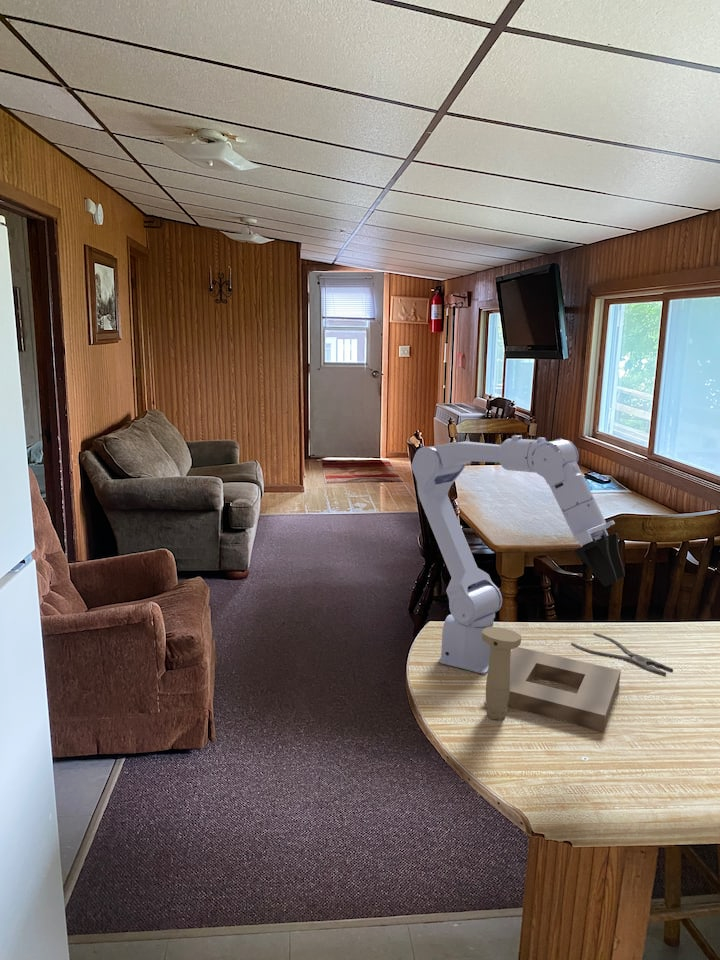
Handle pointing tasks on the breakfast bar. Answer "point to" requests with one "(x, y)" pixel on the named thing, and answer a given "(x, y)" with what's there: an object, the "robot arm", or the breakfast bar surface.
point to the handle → (499, 669)
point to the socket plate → (559, 704)
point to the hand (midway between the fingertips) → (615, 581)
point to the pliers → (633, 659)
